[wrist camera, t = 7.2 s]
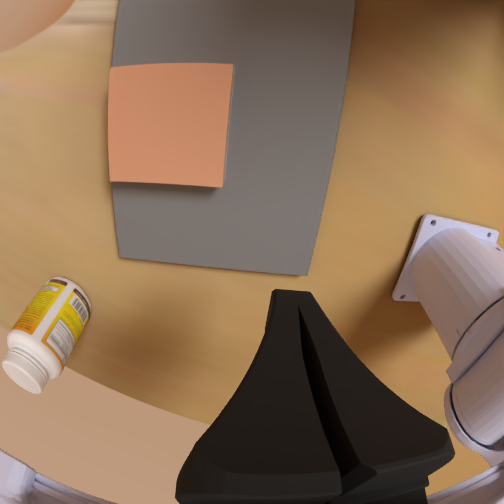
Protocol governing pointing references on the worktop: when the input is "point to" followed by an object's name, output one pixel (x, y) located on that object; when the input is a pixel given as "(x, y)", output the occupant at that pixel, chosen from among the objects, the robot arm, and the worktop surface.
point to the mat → (243, 130)
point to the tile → (169, 123)
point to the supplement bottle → (46, 334)
